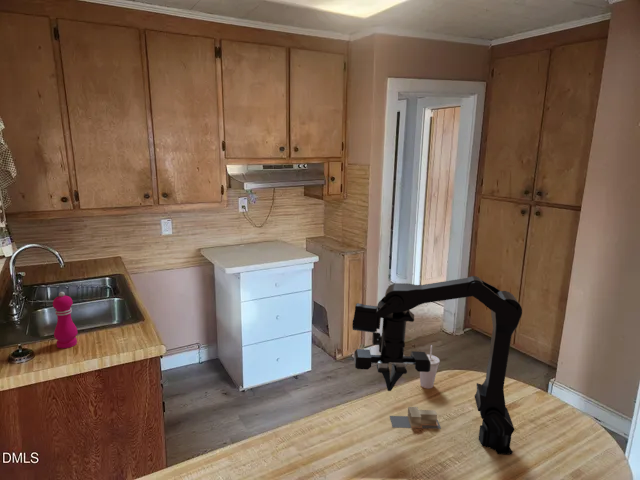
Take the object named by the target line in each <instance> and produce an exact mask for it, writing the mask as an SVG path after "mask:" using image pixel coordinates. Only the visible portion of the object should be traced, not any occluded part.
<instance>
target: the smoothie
mask: <svg viewBox="0 0 640 480" xmlns="http://www.w3.org/2000/svg"><path fill="white" fill-rule="evenodd" d="M426 354H427V356H428V358H429V360H430V364H431V366H430V371H429V372H419V382H420V387H422V388H424V389H432V388H433V387H434V383H435V381H436V375H437V372H438V371H437V370H438V367H439V365H440V362H441V361H440V358H439V357H437V356H435V355H433V345H432V344H430V349H429V354H428V353H426Z"/></svg>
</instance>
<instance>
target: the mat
mask: <svg viewBox="0 0 640 480" xmlns="http://www.w3.org/2000/svg"><path fill="white" fill-rule="evenodd" d="M389 420H390V423H391V427H392V428H393V429H394V428H395V429H397V428H399V429H401V428H403V429H405V428H406V429H434V430H437V429H439V430H440V429H442V427H441V425H440V422H439V420H438V419H437V421H436V425H428V424H421V426H420V427H411V426H410V423H409V420H408V415H389Z"/></svg>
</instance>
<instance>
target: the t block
mask: <svg viewBox="0 0 640 480" xmlns="http://www.w3.org/2000/svg"><path fill="white" fill-rule="evenodd" d="M407 416H408V420H409V423H410V426H411V427H420V426H421V424H428V425H436V421H437V420H438V414H437V411H436V409H419V407H418V406H408V407H407Z"/></svg>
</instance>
